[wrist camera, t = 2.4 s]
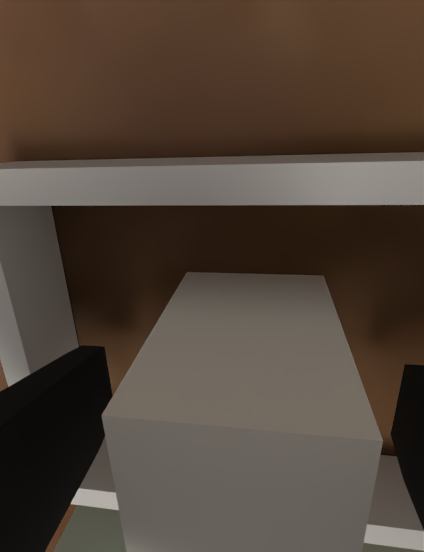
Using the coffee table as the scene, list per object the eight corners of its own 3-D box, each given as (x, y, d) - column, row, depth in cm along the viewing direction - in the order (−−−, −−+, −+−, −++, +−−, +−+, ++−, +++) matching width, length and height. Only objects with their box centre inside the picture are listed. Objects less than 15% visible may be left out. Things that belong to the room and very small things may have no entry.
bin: (551, 149, 8) (657, 156, 6) (451, 479, 12) (493, 559, 10) (16, 161, 10) (-56, 170, 8) (78, 440, 14) (42, 500, 12)
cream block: (323, 275, 10) (383, 441, 5) (313, 388, 12) (349, 613, 6) (186, 271, 11) (101, 414, 5) (193, 380, 12) (131, 578, 7)
